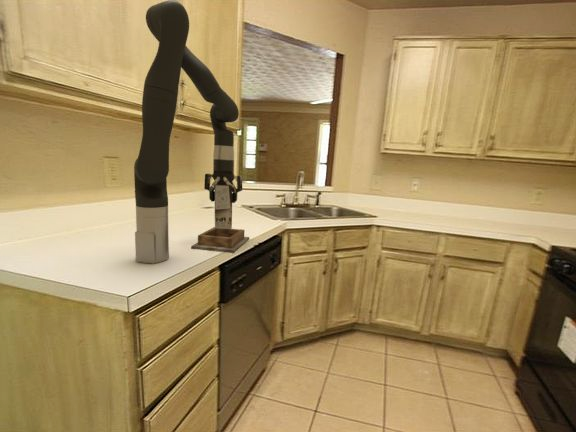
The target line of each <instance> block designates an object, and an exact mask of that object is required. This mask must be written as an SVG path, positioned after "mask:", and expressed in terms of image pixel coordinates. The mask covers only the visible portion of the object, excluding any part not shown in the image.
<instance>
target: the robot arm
mask: <svg viewBox="0 0 576 432" xmlns="http://www.w3.org/2000/svg"><path fill="white" fill-rule="evenodd" d="M145 23H146V26H147V28H148V30H149V31H150V33H151V34H152V36H153V37H154V39H156V41H158V47H157V52H156V54H155V57H154V59H153V60H152V63H151V66H150V67H149V69H148V71H147V74H146V77H145V79H144V84H143V90H142V91H143V92H142V99H141V100H142V101H141V119H142V120H141V121H142V137H141V138H142V139H141V143H140V148H139V152H138V156H137V158H136V159H135V161H134V164H133V165H134V166H133V172H134V173H133V177H134V178H133V179H134V197H135V222H136V223H135V224H136V226H135V227H136V231H135V232H134V244H135V262H136V263H144V264H151V265H153V264H156V263H162V262H165V261H167V260H169V258H170V247H169V242H170V241H169V240H170V239H169V238H170V237H169V195H168V187H167V186H168V184H167V182H168V181H167V178H168V176H169V172H170V141H171V134H172V130H173V126H174V122H175V116H176V111H177V103H178V96H179V85H180V79H181V77H180V76H181V71H182V70H183V71H184V73H185V74H186V75H187V77H188V78H189V79H190V80H191V82H192V83H193V85H194V86H195V88H196V90H197V91H198V92H199V94H200V96H201V97H202V98H203V100H204V101H205V102H206V103H209V104H212V105H211V107H210V110H209V111H210V112H209V118H210V121H211V122H210V123H211V127H212V130H213V133H214V134H213V136H214V138H213V145H214V146H213V154H212V155H213V156H212V159H213V160H212V161H213V167H212V168H213V170H212V173H205V174H204V185H203V186H204V190H207V191H208V192H209V194H208V195H209V200H210V202H215V185H216V184H217V185H232V186H233V187H232V204H236V202H237V201H238V193H239V192H242V191H243V176H242V175H235V174H234V173H235V150H234V149H235V147H234V142H235V137H234V136H235V135H234V132H233V130H231V129H228V128H227V124H226V123H234V122H235V121H238V118H239V116H240V112H239V108H238V106H237V104H236V102H235V101H234V100H233V99H232V98H231V97H230V96H229V94H227V92H225V90H223V88H222V87H221V86H220V84H219V83H218V81H217V79H216V77H215V75H214V74H213V73H212V71H211V70H210V69H209V67H207V65H206V64H205V63H204V62H203V61H201V59H199V58H198V56H196V55H195V54H194V53H193V52H192V51H191V49H189V48H188V46H187V41H188V37H189V32H190V17H189V14H188V12H187V9H186V8H185V7H184V5H183V4H182V3H181V2H179V1H177V0H165V1H162V2H158V3H156V4H154V5H151V6H150V7H149V8H148V9H147V10H146V13H145ZM211 180H214V181H213V182H212V184H211ZM234 180H235V182H236V184H235V183H234Z"/></svg>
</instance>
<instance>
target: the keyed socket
mask: <svg viewBox="0 0 576 432" xmlns="http://www.w3.org/2000/svg"><path fill="white" fill-rule="evenodd" d="M249 240H250V236H245V229H242V228H241V229H239V228H215V226H214V227H211V228H210V229H208V230H206V231H204V232H202V233H200V234H198V235H197V242H195V243H194V244H192V245H191V246H190V247H191V248H190V249H192V250H198V251H199V250H201V251H210V252H211V251H212V252H219V253H229V254H234V253H235V252H236V251H237V252H238V250H239V249H240V248H241V247H242V246H244V245H245V244H246V243H247V242H249Z"/></svg>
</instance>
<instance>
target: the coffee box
mask: <svg viewBox="0 0 576 432" xmlns="http://www.w3.org/2000/svg"><path fill="white" fill-rule="evenodd" d="M232 187H233V186H232V185H217V184H216V185H215V190H214V191H215V201H214V227H215V228H231V229H233V227H232V225H233V203H232V193H233V192H232Z"/></svg>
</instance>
